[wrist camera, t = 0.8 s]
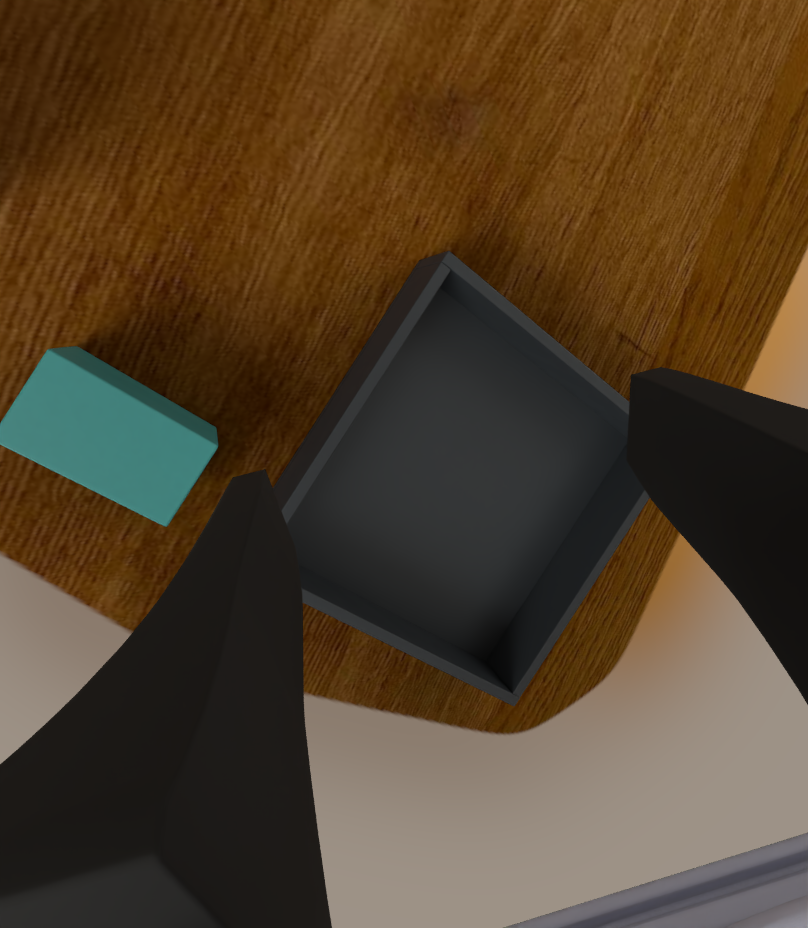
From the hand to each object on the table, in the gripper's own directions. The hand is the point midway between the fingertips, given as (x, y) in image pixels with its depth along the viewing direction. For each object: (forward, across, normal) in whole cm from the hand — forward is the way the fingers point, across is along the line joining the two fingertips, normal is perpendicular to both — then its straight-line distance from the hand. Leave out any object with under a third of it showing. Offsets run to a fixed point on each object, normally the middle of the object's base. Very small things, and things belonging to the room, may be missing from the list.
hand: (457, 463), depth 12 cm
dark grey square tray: (+17, -3, +14) cm, 22 cm away
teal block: (+17, +12, +6) cm, 21 cm away
